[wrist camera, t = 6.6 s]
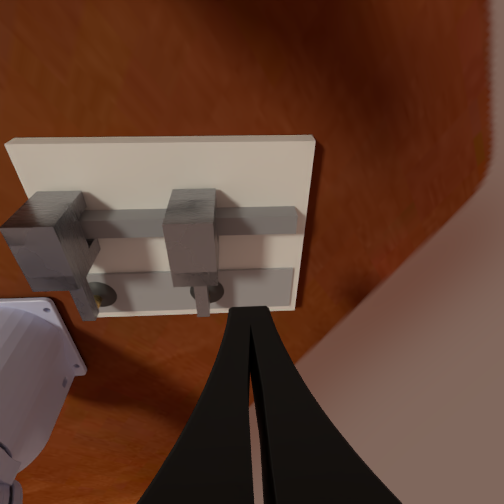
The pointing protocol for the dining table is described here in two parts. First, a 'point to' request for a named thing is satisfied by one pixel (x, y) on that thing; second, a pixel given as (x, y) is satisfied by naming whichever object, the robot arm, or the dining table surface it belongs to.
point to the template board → (155, 204)
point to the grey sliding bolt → (193, 242)
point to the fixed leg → (55, 247)
